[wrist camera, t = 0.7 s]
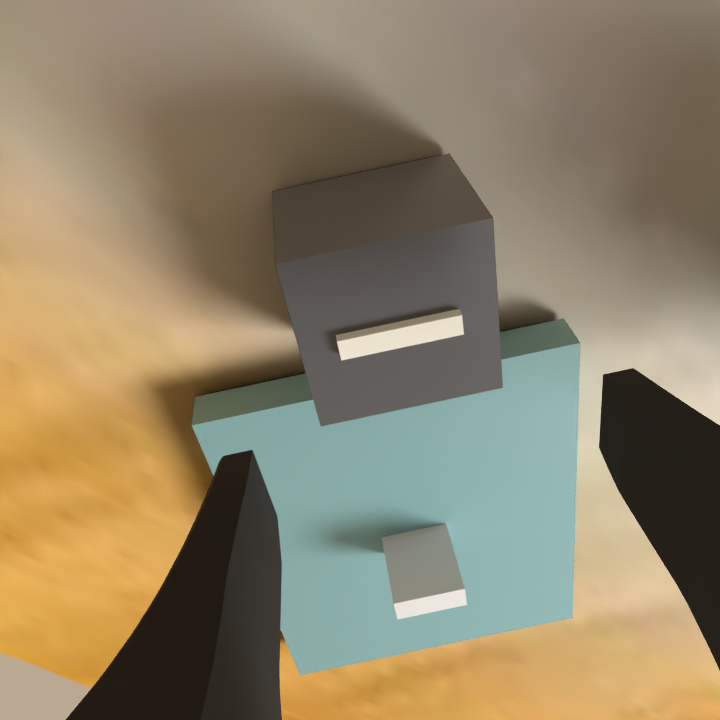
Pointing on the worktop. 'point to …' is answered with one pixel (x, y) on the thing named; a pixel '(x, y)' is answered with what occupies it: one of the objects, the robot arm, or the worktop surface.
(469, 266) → the grey drawer cube
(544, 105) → the worktop surface
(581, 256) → the worktop surface
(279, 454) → the base
